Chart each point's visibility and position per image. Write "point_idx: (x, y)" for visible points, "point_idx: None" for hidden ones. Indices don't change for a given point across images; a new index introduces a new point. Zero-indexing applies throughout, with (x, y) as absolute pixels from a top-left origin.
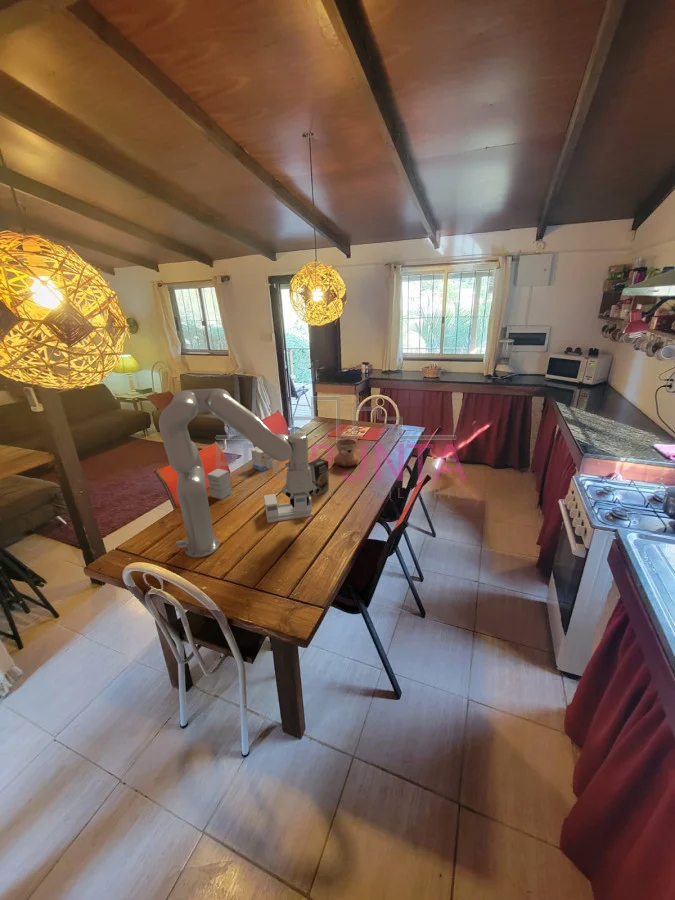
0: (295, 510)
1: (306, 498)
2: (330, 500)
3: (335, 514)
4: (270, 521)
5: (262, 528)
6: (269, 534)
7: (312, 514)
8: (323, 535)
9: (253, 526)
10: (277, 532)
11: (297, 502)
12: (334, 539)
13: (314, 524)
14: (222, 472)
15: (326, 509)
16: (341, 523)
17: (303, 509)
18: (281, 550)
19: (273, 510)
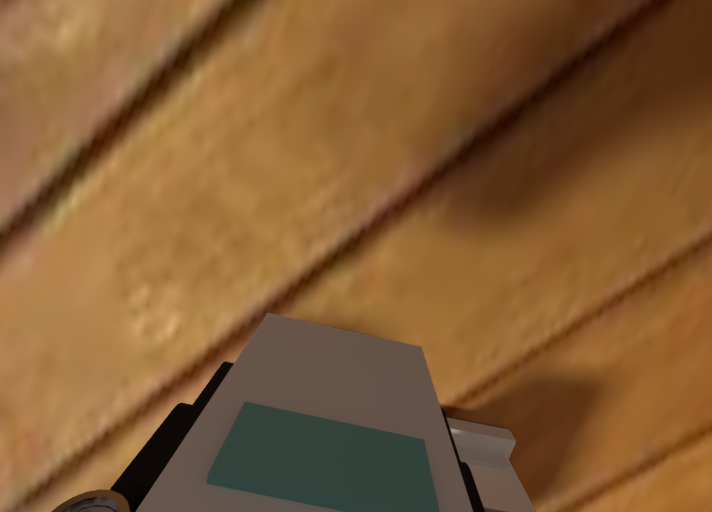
0: (413, 352)
1: (177, 453)
2: (37, 472)
3: (53, 311)
4: (494, 431)
5: (563, 392)
6: (558, 313)
7: (211, 378)
8: (230, 109)
9: (598, 434)
10: (504, 309)
11: (393, 437)
12: (167, 8)
13: (241, 272)
14: None
15: (97, 393)
16: (43, 185)
17: (307, 328)
18: (582, 97)
19: (486, 507)
